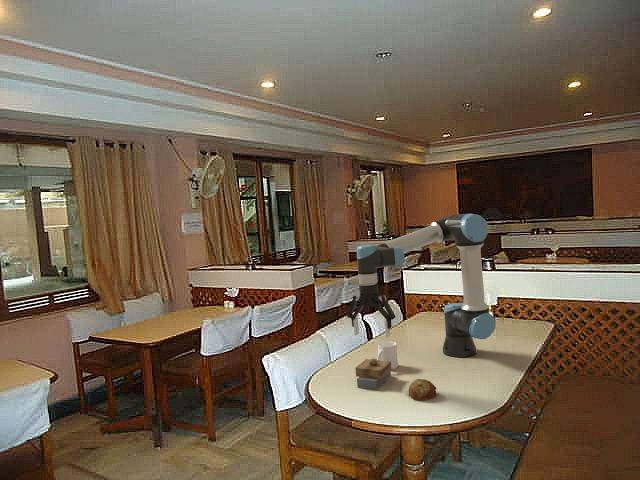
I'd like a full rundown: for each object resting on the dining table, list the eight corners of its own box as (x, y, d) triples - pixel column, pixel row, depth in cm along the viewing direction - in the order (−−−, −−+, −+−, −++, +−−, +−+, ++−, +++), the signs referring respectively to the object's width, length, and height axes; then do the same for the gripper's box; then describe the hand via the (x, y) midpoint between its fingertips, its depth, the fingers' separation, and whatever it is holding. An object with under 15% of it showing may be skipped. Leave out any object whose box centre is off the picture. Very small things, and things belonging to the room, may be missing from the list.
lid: (391, 369, 194) (390, 356, 194) (381, 379, 185) (380, 365, 184) (366, 367, 199) (365, 354, 199) (355, 376, 190) (355, 362, 190)
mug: (386, 374, 199) (385, 350, 199) (370, 371, 205) (369, 347, 204) (401, 365, 208) (400, 342, 208) (385, 362, 214) (384, 340, 213)
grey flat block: (390, 375, 197) (390, 367, 197) (376, 390, 183) (375, 381, 183) (372, 373, 201) (372, 365, 201) (357, 387, 187) (356, 378, 187)
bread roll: (410, 400, 180) (400, 383, 179) (433, 386, 181) (424, 369, 180) (418, 411, 170) (408, 393, 169) (442, 396, 171) (432, 378, 170)
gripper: (401, 282, 187) (404, 334, 189) (344, 281, 199) (348, 331, 201) (394, 285, 181) (398, 340, 182) (336, 285, 193) (340, 336, 194)
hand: (372, 335), depth 192 cm, fingers open, 13 cm apart
